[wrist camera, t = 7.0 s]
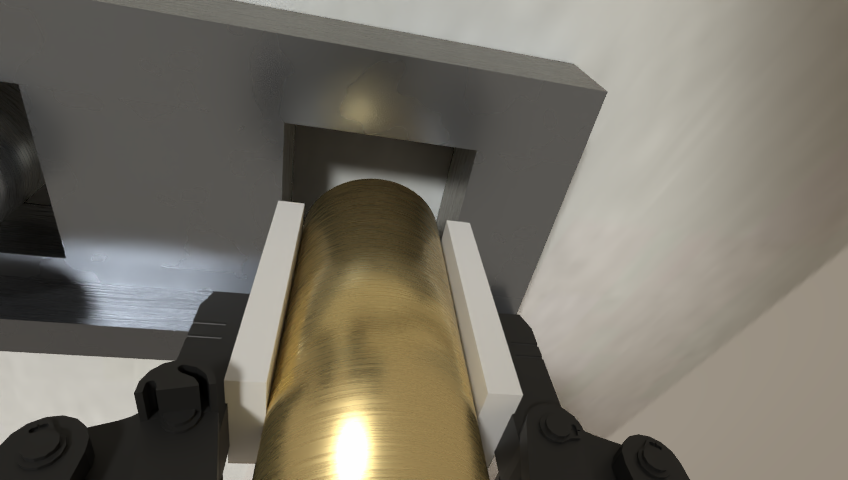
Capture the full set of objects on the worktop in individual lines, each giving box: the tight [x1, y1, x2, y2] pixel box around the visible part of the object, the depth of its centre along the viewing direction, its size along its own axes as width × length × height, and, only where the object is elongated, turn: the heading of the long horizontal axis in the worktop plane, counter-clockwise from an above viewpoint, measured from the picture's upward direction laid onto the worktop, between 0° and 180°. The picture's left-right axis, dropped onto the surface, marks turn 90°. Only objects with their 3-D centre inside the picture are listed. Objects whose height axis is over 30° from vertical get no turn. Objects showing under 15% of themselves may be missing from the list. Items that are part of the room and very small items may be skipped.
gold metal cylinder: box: [252, 179, 490, 480], centre depth 12 cm, size 4×4×10 cm
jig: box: [0, 0, 607, 361], centre depth 16 cm, size 11×26×5 cm, turn 79°
